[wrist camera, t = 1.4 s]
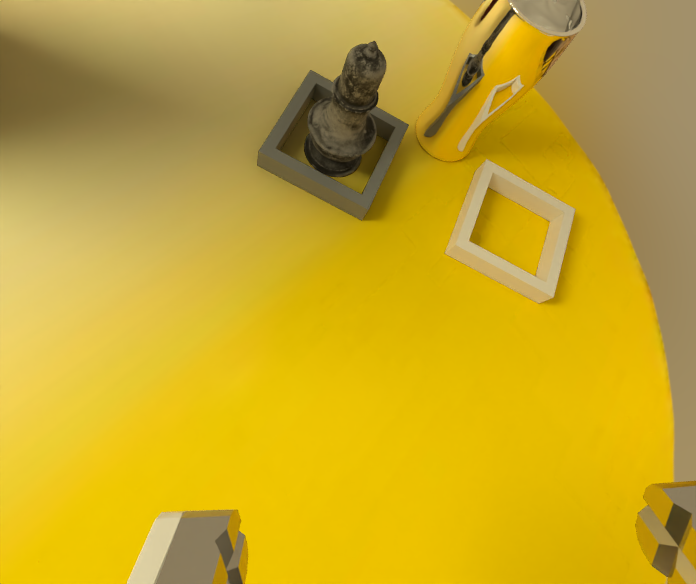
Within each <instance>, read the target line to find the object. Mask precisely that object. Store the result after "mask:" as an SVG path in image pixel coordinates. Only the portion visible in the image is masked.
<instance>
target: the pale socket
mask: <svg viewBox="0 0 696 584" xmlns="http://www.w3.org/2000/svg"><path fill="white" fill-rule="evenodd" d="M488 187H489V188H491V189H492V190H494V191H496V192H498V193H500V194H501V195H503V196H505V197H507V198H509V199H510V200H512V201H514V202H516V203H518V204H519V205H521V206H523V207H525V208H527V209H528V210H530V211H532V212H534V213H536V214H537V215H539V216H541V217H543V218H545V219H546V220H548V221H550V225H549V228H548V232H547V236H546V239H545V243H544V247H543V250H542V254H541V258H540V261H539V265H538V269H537V273H536V276H533V275H531V274H529V273H528V272H526V271H524V270H522V269H520V268H518V267H516V266H515V265H513V264H511V263H509V262H507V261H505V260H503V259H502V258H500V257H498V256H496V255H494V254H492V253H490V252H489V251H487V250H485V249H483V248H481V247H479V246H477V245H476V244H474V243H472V242H470V241H469V239H470V236H471V233H472V230H473V228H474V225H475V222H476V219H477V216H478V213H479V211H480V208H481V205H482V202H483V199H484V196H485V194H486V191H487V188H488ZM574 213H575V209H574V208H572V207H571V206H569V205H567V204H565V203H563V202H562V201H560V200H558V199H556V198H555V197H553V196H551V195H549V194H547V193H546V192H544V191H542V190H540V189H539V188H537V187H535V186H533V185H532V184H530V183H528V182H526V181H524V180H523V179H521V178H519V177H517V176H516V175H514V174H512V173H510V172H508V171H507V170H505V169H503V168H501V167H500V166H498V165H496V164H494V163H493V162H491V161H489V160H487V159H486V161H485V162H484V163H483V164H482V165H481V166H480V167H479V168H478V169H477V170H476V171H475V174H474V176H473V179H472V182H471V184H470V187H469V190H468V192H467V195H466V198H465V200H464V203H463V206H462V208H461V211H460V214H459V217H458V219H457V222H456V225H455V227H454V230H453V233H452V235H451V238H450V241H449V243H448V246H447V249H446V251H445V254H447V255H448V256H450V257H452V258H454V259H456V260H458V261H460V262H462V263H463V264H465V265H467V266H469V267H471V268H473V269H475V270H477V271H478V272H480V273H482V274H484V275H486V276H488V277H490V278H492V279H494V280H495V281H497V282H499V283H501V284H503V285H505V286H507V287H509V288H510V289H512V290H514V291H516V292H518V293H520V294H522V295H524V296H525V297H527V298H529V299H531V300H533V301H535V302H537V303H541V302H544V301H546V300H549V299H551V298H553V297H554V294H555V290H556V286H557V282H558V278H559V274H560V270H561V266H562V262H563V258H564V254H565V249H566V245H567V241H568V237H569V233H570V229H571V225H572V221H573V217H574Z"/></svg>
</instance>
